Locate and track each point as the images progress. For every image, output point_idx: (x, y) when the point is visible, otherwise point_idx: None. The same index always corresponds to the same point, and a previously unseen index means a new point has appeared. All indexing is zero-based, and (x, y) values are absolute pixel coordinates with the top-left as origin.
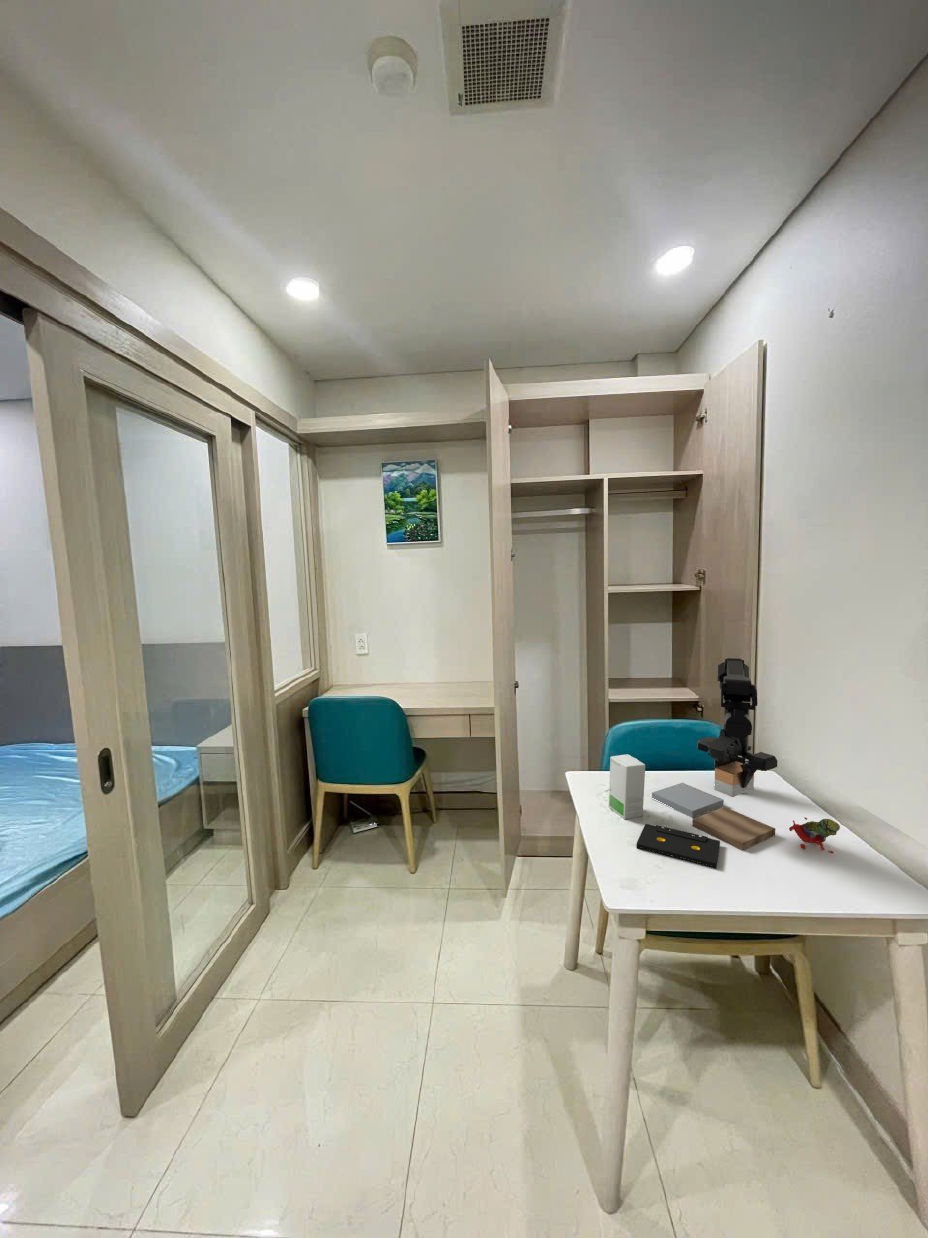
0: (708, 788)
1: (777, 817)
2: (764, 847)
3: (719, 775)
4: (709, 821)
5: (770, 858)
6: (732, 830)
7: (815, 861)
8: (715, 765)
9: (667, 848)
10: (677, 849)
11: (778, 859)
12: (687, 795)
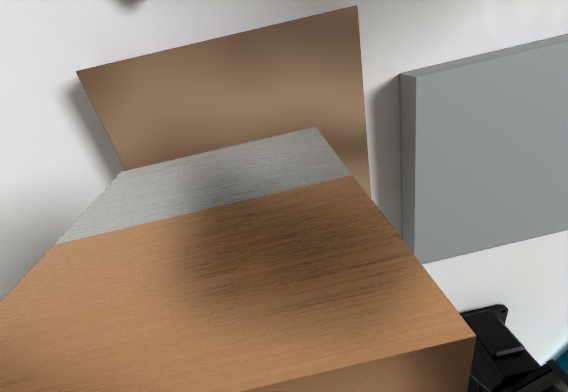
0: (505, 284)
1: None
2: (116, 176)
3: (284, 249)
4: (304, 78)
5: (29, 136)
6: (199, 119)
7: (14, 260)
8: (564, 376)
9: None
10: None
11: (22, 159)
12: (519, 167)
